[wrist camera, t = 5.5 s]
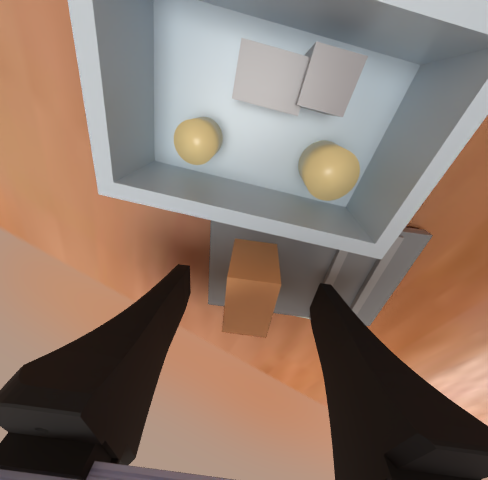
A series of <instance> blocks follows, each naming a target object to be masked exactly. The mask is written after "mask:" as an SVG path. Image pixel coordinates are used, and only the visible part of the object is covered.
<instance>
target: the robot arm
mask: <svg viewBox="0 0 488 480" xmlns="http://www.w3.org/2000/svg"><path fill="white" fill-rule="evenodd" d="M189 296H190V266H187V265H180V264H178V265H177V266H176V267H175V268H174V269H173V270H172V271H171V272H170V273H169V274H168V275H167V276H165V277H164V278H163V279H162V280H161V281H160V282H159V283H158V284H157V285H156V286H154V287H153V288H152V289H151V290H150V291H149V292H147V293H146V294H145V295H144V296H142V297H141V298H140V299H139V300H138V301H136V302H135V303H134V304H132V305H131V306H130V307H128V308H127V309H126V310H124V311H123V312H121V313H120V314H118V315H117V316H116V317H114V318H112V319H111V320H109V321H108V322H106V323H104V324H103V325H101V326H100V327H98V328H96V329H95V330H93V331H91V332H89V333H88V334H86V335H84V336H82V337H80V338H79V339H77V340H75V341H73V342H71V343H69V344H67V345H65V346H63V347H61V348H59V349H57V350H55V351H53V352H51V353H49V354H47V355H45V356H42V357H40V358H38V359H36V360H34V361H32V362H29V363H27V364H25V365H23V367H21V368H20V369H19V370H18V371H17V372H16V374H15V375H14V376H13V377H12V378H11V379H10V380H9V381H8V382H7V383H6V384H5V386H4V387H3V388H2V389H1V390H0V426H1V427H2V428H4V429H5V430H7V431H8V434H7V435H6V436H5V438H4V439H3V440H2V441H1V443H0V480H234V479H226V478H218V477H211V476H204V475H196V474H188V473H181V472H174V471H166V470H158V469H150V468H142V467H135V466H129V464H130V463H131V462H132V461H133V460H134V459H135V458H136V454H137V451H138V447H139V443H140V440H141V436H142V432H143V429H144V425H145V422H146V418H147V415H148V411H149V407H150V405H151V401H152V398H153V394H154V391H155V388H156V385H157V382H158V378H159V375H160V372H161V369H162V366H163V363H164V360H165V357H166V354H167V351H168V349H169V346H170V344H171V342H172V340H173V337H174V335H175V333H176V330H177V328H178V326H179V323H180V321H181V319H182V316H183V314H184V312H185V309H186V306H187V303H188V299H189ZM310 318H311V325H312V330H313V334H314V338H315V342H316V346H317V350H318V354H319V358H320V362H321V366H322V371H323V376H324V382H325V389H326V395H327V403H328V410H329V418H330V427H331V437H332V445H333V458H334V470H335V480H481V479H483V478H486V477H488V426H487V425H485V424H484V423H482V422H481V421H480V420H478V419H477V418H475V417H474V416H472V415H471V414H470V413H468V412H467V411H465V410H464V409H462V408H461V407H460V406H458V405H457V404H455V403H454V402H453V401H451V400H450V399H448V398H447V397H446V396H444V395H443V394H442V393H441V392H439V391H438V390H437V389H435V388H434V387H433V386H431V385H430V384H429V383H428V382H426V381H425V380H424V379H423V378H421V377H420V376H419V375H418V374H416V373H415V372H414V371H413V370H412V369H411V368H409V367H408V366H407V365H406V364H405V363H403V362H402V361H401V360H400V359H399V358H398V357H397V356H396V355H395V354H394V353H392V352H391V351H390V350H389V349H388V348H387V347H386V346H385V345H384V344H383V343H382V342H381V341H380V340H379V339H378V338H377V337H376V336H375V335H374V334H373V333H372V332H371V331H370V330H369V329H368V328H367V327H366V325H365V324H364V323H363V322H362V321H361V320H360V319H359V318H358V316H357V315H356V314H355V313H354V312H353V311H352V309H351V308H350V307H349V306H348V305H347V303H346V302H345V301H344V300H343V299H342V297H341V296H340V295H339V294H338V292H337V291H336V290H335V289H334V288H333V286H332V285H331V284H323V283H320V284H319V286H318V289H317V291H316V294H315V296H314V298H313V301H312V303H311V306H310Z"/></svg>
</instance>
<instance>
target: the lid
mask: <svg viewBox="0 0 488 480" xmlns="http://www.w3.org/2000/svg"><path fill="white" fill-rule="evenodd" d="M432 236H433V235H431V234H430V233H429V232H427V231H426V230H422V229H415V228H407V227H405V228H404V229H403V231H402V232H401V234H400V235H399V236H398V238H397V239H396V240H395V242H394V243H393V244H392V246H391V247H390V249H389V250H388V251H387V253H386V254H385V255H384V257H383V258H382V259H377V258H373V257H368V256H364V255H360V254H355V253H351V252H347V251H342V250H338V249H334V248H329V247H325V246H321V245H316V244H312V243H308V242H303V241H299V240H295V239H290V238H286V237H282V236H277V235H273V234H269V233H264V232H260V231H255V230H251V229H247V228H242V227H238V226H234V225H229V224H225V223H221V222H216V221H212V220H211V232H210V262H209V293H208V304H210V305H218V306H224V316H223V326H222V332H226V333H233V334H241V335H248V336H256V337H263V338H266V336H267V333H268V329H269V326H270V322H271V319H272V315H273V313H277V314H285V315H292V316H300V317H307V318H309V319H310V320H311V318H310V306H311V303H312V301H313V298H314V296H315V294H316V291H317V289H318V286H319V284H320V283H323V284H331V285H332V286H333V288H334V289H335V290H336V291H337V292H338V294H339V295H340V296H341V297H342V299H343V300H344V301H345V302H346V303H347V305H348V306H349V307H350V308H351V309H352V311H353V312H354V313H355V314H356V315H357V316H358V318H359V319H360V320H361V321H362V322H363V323H364V324H365V325H367V326H370V325H371V323H372V322H373V320H374V319H375V318H376V316H377V315H378V313H379V312H380V310H381V309H382V308H383V306H384V305H385V303H386V302H387V300H388V299H389V298H390V296H391V295H392V293H393V292H394V290H395V289H396V288H397V286H398V285H399V283H400V282H401V280H402V279H403V277H404V276H405V275H406V273H407V272H408V270H409V269H410V267H411V266H412V265H413V263H414V262H415V260H416V259H417V257H418V256H419V255H420V253H421V252H422V250H423V249H424V247H425V246H426V245H427V243H428V242H429V240H430V239H431V237H432Z"/></svg>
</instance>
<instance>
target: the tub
mask: <svg viewBox="0 0 488 480" xmlns="http://www.w3.org/2000/svg"><path fill="white" fill-rule="evenodd" d="M68 6H69V12H70V18H71V24H72V31H73V37H74V43H75V49H76V56H77V62H78V68H79V74H80V81H81V87H82V93H83V100H84V106H85V112H86V118H87V125H88V131H89V137H90V143H91V150H92V156H93V162H94V169H95V175H96V181H97V187H98V194H99V195H104V196H108V197H112V198H117V199H121V200H125V201H130V202H134V203H138V204H143V205H147V206H151V207H156V208H160V209H164V210H169V211H173V212H177V213H182V214H186V215H190V216H195V217H199V218H203V219H208V220H212V221H216V222H221V223H225V224H229V225H234V226H238V227H242V228H247V229H251V230H255V231H260V232H264V233H269V234H273V235H277V236H282V237H286V238H290V239H295V240H299V241H303V242H308V243H312V244H316V245H321V246H325V247H329V248H334V249H338V250H342V251H347V252H351V253H355V254H360V255H364V256H368V257H373V258H377V259H382V258H383V257H384V255H385V254H386V253H387V251H388V250H389V249H390V247H391V246H392V244H393V243H394V242H395V240H396V239H397V238H398V236H399V235H400V234H401V232H402V231H403V229H404V228H405V227H406V225H407V224H408V223H409V221H410V220H411V219H412V217H413V216H414V214H415V213H416V212H417V210H418V209H419V208H420V206H421V205H422V204H423V202H424V201H425V199H426V198H427V197H428V195H429V194H430V193H431V191H432V190H433V189H434V187H435V186H436V184H437V183H438V182H439V180H440V179H441V178H442V176H443V175H444V174H445V172H446V171H447V169H448V168H449V167H450V165H451V164H452V163H453V161H454V160H455V159H456V157H457V156H458V154H459V153H460V152H461V150H462V149H463V148H464V146H465V145H466V144H467V142H468V141H469V139H470V138H471V137H472V135H473V134H474V133H475V131H476V130H477V129H478V127H479V126H480V125H481V123H482V122H483V120H484V119H485V118H486V116H487V115H488V0H68Z"/></svg>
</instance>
